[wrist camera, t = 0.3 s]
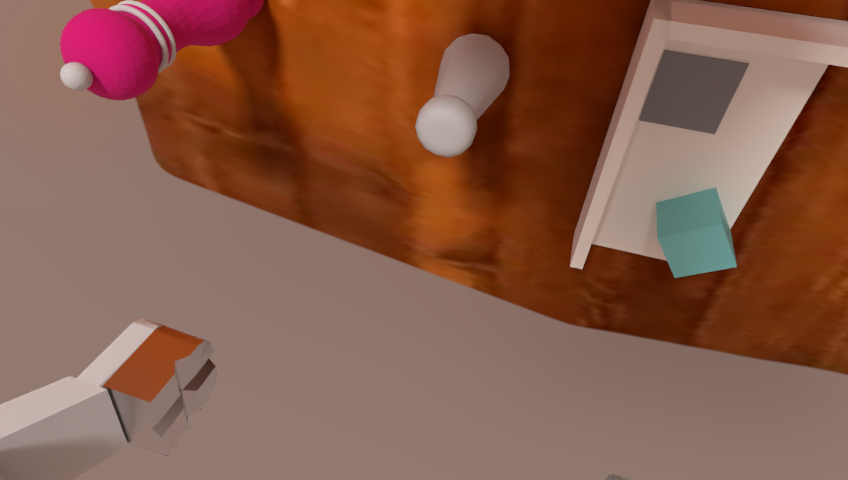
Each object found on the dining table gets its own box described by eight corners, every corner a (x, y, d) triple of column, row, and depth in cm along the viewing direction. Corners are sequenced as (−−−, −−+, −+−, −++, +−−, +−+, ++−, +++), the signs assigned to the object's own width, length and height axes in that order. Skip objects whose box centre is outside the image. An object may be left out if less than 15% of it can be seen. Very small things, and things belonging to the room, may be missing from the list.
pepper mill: (250, -70, 45) (71, 18, 31) (282, 18, 49) (140, 130, 35) (182, -56, 47) (-12, 31, 33) (219, 27, 52) (62, 135, 38)
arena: (652, -7, 39) (653, 18, 36) (847, 21, 37) (869, 50, 33) (574, 233, 56) (569, 266, 52) (705, 262, 54) (710, 299, 50)
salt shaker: (481, 8, 43) (439, 80, 34) (528, 59, 45) (500, 141, 36) (434, 55, 47) (386, 130, 38) (480, 101, 49) (443, 184, 40)
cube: (655, 202, 50) (657, 238, 46) (715, 187, 47) (722, 223, 43) (672, 241, 52) (674, 278, 48) (730, 229, 49) (737, 266, 46)
